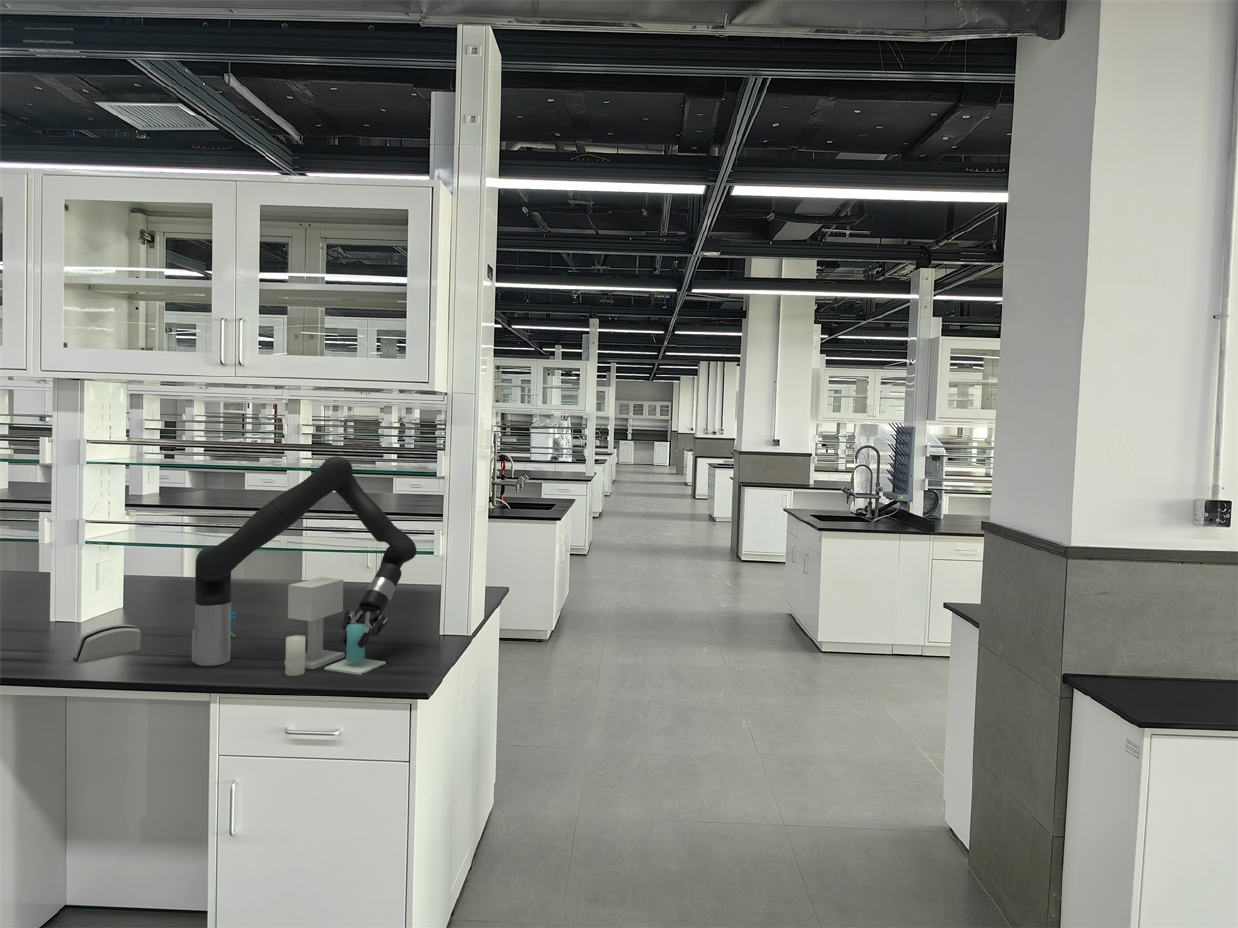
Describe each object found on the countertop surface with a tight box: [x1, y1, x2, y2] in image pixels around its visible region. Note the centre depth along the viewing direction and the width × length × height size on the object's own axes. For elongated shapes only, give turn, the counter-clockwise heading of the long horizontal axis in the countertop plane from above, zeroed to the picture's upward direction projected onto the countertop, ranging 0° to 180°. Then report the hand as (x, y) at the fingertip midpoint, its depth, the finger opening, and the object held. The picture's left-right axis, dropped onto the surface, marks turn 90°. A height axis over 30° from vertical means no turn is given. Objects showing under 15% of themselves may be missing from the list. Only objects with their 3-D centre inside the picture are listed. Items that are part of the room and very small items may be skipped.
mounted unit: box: [283, 576, 346, 670], centre depth 238 cm, size 10×15×23 cm
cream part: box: [284, 634, 306, 677], centre depth 226 cm, size 5×5×10 cm
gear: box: [231, 611, 236, 638], centre depth 263 cm, size 11×6×10 cm
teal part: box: [345, 623, 366, 662], centre depth 234 cm, size 5×5×10 cm
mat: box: [323, 658, 387, 676], centre depth 234 cm, size 12×12×1 cm
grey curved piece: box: [72, 624, 142, 663], centre depth 237 cm, size 17×5×10 cm, turn 148°
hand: (351, 645), depth 232 cm, fingers closed on teal part, 5 cm apart
